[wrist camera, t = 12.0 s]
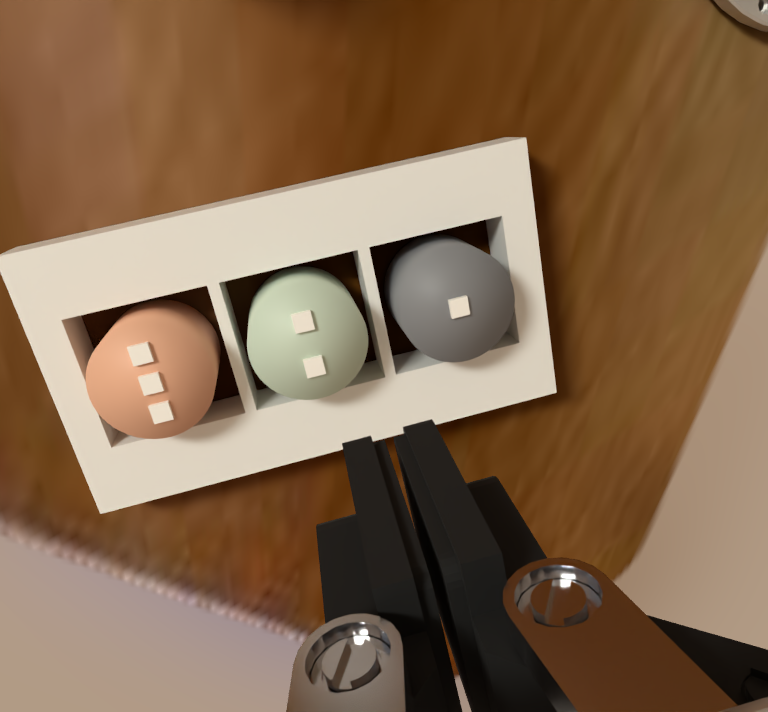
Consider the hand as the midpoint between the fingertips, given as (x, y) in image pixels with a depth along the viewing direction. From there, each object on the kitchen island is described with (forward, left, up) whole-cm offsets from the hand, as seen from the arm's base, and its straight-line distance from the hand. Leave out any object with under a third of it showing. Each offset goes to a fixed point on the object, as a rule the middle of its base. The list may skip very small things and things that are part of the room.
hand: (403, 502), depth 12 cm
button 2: (+1, +2, -20) cm, 20 cm away
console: (+1, +2, -20) cm, 20 cm away
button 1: (-5, +2, -20) cm, 21 cm away
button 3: (+8, +2, -20) cm, 21 cm away
